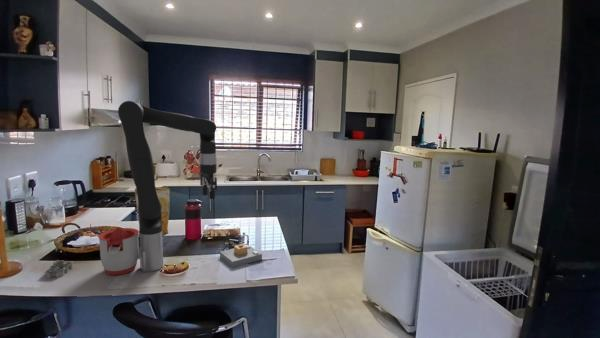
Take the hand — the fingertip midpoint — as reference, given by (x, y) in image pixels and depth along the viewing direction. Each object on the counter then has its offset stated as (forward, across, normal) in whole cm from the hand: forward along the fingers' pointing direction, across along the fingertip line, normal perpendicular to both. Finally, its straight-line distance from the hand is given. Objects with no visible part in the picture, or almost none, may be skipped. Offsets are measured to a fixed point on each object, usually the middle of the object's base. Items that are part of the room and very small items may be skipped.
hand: (208, 196), depth 151 cm
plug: (+32, +6, +14) cm, 35 cm away
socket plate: (+32, +6, +14) cm, 36 cm away
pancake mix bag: (+32, -55, -12) cm, 65 cm away
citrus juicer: (+32, -13, -36) cm, 50 cm away
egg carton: (+33, -26, -58) cm, 71 cm away
